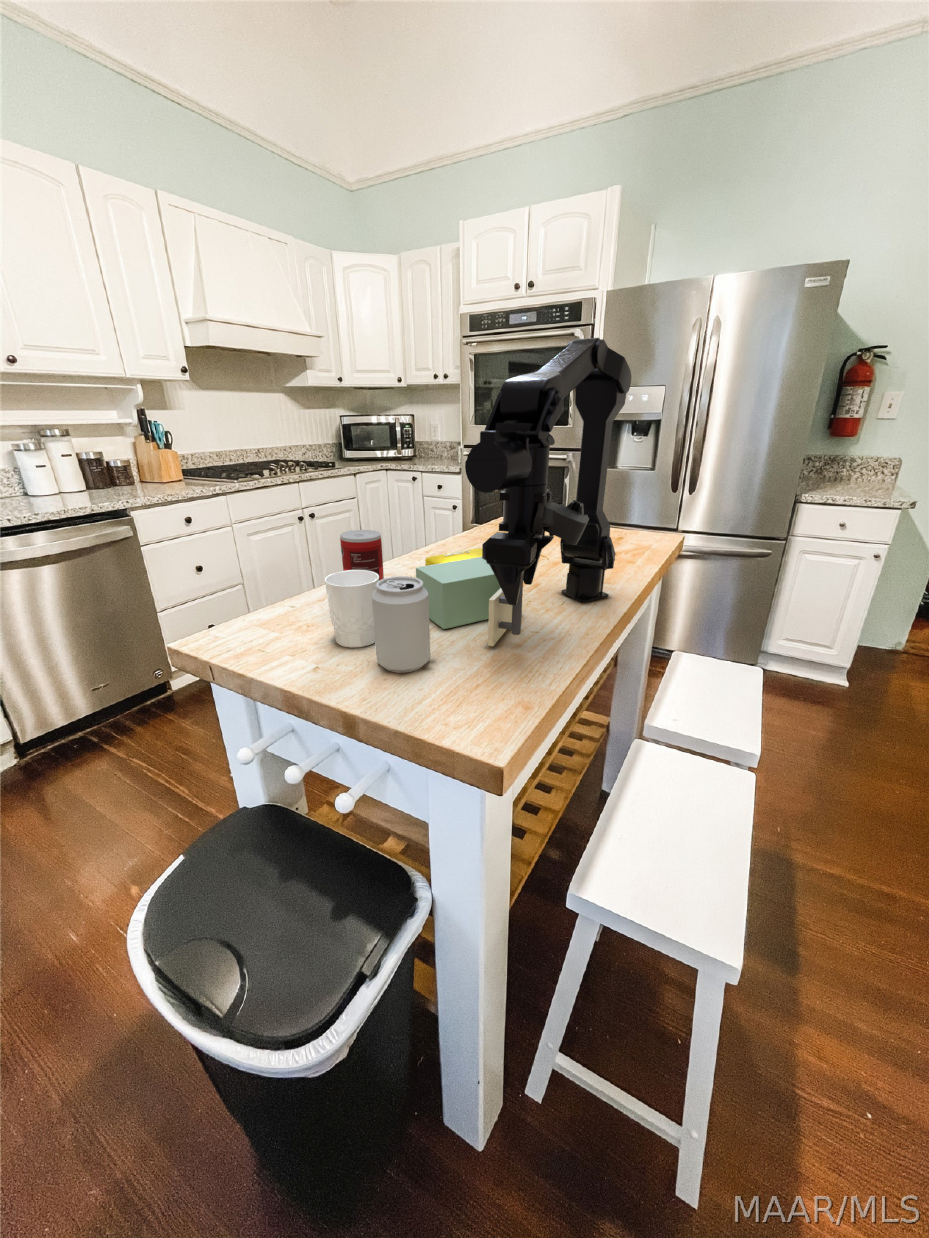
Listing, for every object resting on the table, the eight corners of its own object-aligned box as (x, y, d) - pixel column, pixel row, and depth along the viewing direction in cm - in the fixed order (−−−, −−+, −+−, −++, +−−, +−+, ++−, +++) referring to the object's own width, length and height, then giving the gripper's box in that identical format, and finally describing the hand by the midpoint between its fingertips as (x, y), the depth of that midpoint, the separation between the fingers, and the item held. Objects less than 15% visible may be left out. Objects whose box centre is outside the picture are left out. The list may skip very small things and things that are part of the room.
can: (422, 678, 66) (418, 593, 62) (368, 672, 68) (361, 589, 63) (436, 653, 73) (434, 575, 68) (387, 648, 74) (382, 571, 70)
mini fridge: (484, 596, 95) (484, 556, 92) (514, 614, 87) (516, 570, 84) (417, 610, 89) (415, 567, 85) (443, 630, 81) (442, 583, 77)
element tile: (479, 565, 114) (479, 545, 112) (521, 583, 102) (522, 560, 100) (422, 577, 106) (421, 555, 104) (460, 597, 95) (460, 573, 93)
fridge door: (514, 613, 86) (517, 547, 82) (538, 617, 85) (542, 550, 80) (488, 645, 75) (489, 570, 70) (515, 650, 73) (518, 574, 69)
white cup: (392, 632, 80) (388, 572, 76) (367, 653, 73) (362, 588, 69) (349, 625, 82) (343, 567, 78) (321, 645, 75) (313, 582, 72)
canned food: (365, 580, 104) (360, 527, 100) (393, 587, 100) (389, 533, 96) (336, 590, 99) (330, 535, 94) (364, 598, 94) (360, 541, 90)
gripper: (576, 497, 56) (565, 625, 62) (595, 477, 72) (585, 580, 78) (481, 492, 59) (480, 614, 65) (520, 474, 75) (516, 573, 81)
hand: (520, 594), depth 72 cm, fingers open, 9 cm apart
